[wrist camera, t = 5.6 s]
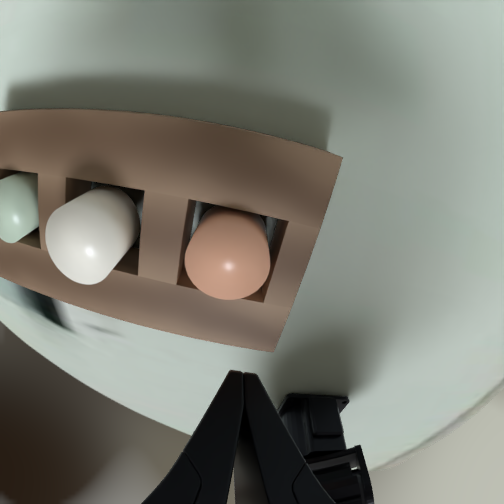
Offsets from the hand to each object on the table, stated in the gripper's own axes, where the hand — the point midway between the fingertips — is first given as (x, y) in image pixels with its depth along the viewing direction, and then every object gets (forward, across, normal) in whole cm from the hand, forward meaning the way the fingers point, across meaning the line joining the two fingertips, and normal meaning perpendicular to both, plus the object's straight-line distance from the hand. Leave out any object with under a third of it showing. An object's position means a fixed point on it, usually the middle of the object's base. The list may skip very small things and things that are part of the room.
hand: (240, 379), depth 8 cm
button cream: (+8, +8, -1) cm, 11 cm away
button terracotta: (+10, +1, -1) cm, 10 cm away
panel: (+10, +8, -1) cm, 13 cm away
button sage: (+10, +15, -1) cm, 18 cm away
